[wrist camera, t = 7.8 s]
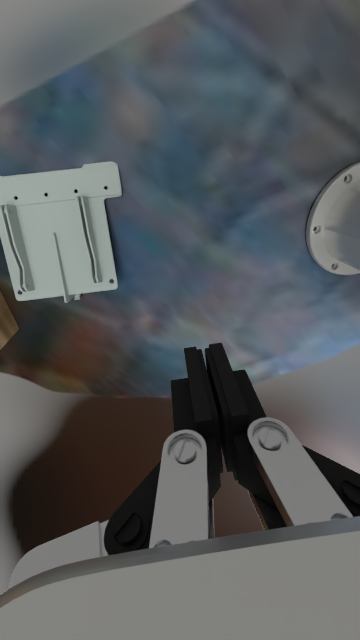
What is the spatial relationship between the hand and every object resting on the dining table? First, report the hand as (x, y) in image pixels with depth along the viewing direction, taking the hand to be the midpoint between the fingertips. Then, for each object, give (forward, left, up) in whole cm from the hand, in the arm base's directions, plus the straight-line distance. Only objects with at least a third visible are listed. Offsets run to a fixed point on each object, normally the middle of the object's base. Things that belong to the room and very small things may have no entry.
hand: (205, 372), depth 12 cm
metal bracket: (+12, -3, -23) cm, 26 cm away
